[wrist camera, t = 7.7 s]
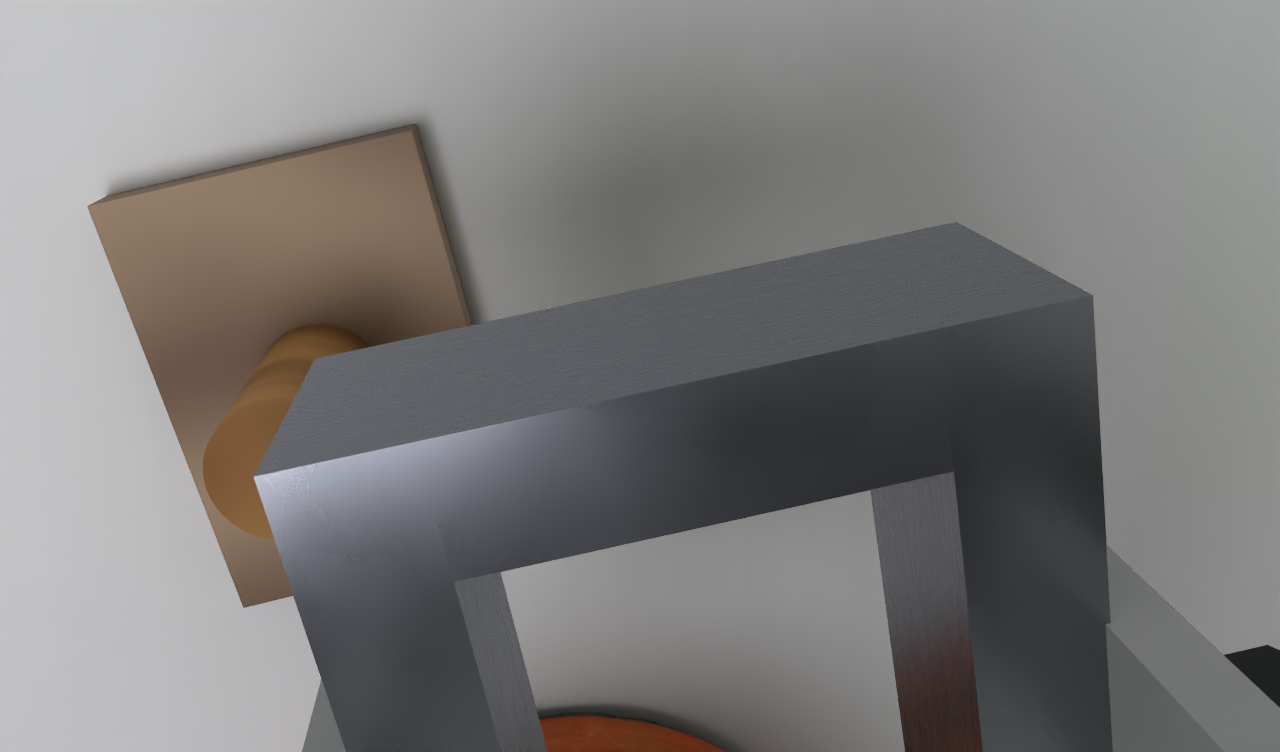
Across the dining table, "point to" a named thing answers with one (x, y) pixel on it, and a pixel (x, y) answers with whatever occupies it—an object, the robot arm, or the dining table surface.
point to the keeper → (274, 302)
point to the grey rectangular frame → (716, 482)
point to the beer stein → (615, 735)
